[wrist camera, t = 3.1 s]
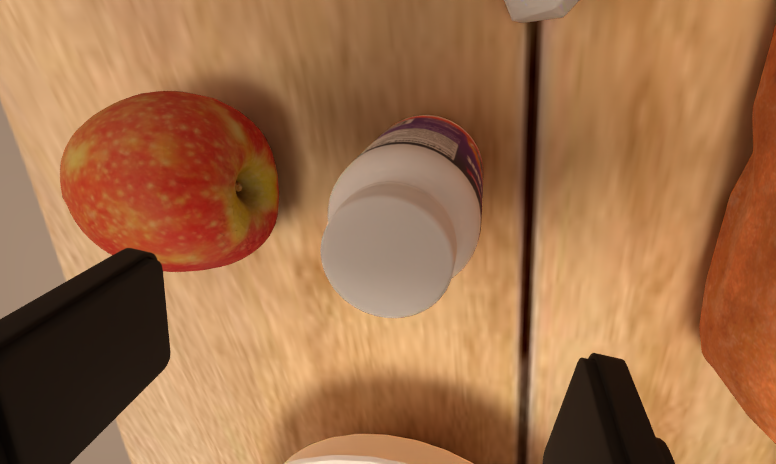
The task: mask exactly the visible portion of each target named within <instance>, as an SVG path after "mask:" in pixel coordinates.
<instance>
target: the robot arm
mask: <svg viewBox="0 0 776 464" xmlns="http://www.w3.org/2000/svg"><path fill="white" fill-rule="evenodd" d="M169 359H170V343H169V333H168V322H167V311H166V300H165V290H164V279H163V268H162V264H161V263H160V262H159V261H158V260H157V257H156V256H155V254H153V253H151V252H146V251H142V250H138V249H133V248H125V249H123V250H121V251H119V252H118V253H116V254H114V255H112V256H111V257H109V258H107V259H105V260H104V261H102V262H100V263H98V264H97V265H95V266H93V267H91V268H90V269H88V270H86V271H84V272H82V273H81V274H79V275H77V276H75V277H74V278H72V279H70V280H68V281H67V282H65V283H63V284H61V285H60V286H58V287H56V288H54V289H53V290H51V291H49V292H47V293H46V294H44V295H42V296H40V297H39V298H37V299H35V300H33V301H32V302H30V303H28V304H26V305H25V306H23V307H21V308H20V309H18V310H16V311H14V312H12V313H11V314H9V315H7V316H5V317H4V318H2V319H0V464H70V463H71V462H72V461H73V460H74V459H75V458H76V457H77V456H78V455H79V454H80V453H81V452H82V451H83V450H84V449H85V448H86V447H87V446H88V445H89V444H90V443H91V442H92V441H93V440H94V439H95V438H96V437H97V436H98V435H99V434H100V433H101V432H102V431H103V430H104V429H105V428H106V427H107V426H108V425H109V424H110V423H111V422H112V421H113V420H114V419H115V418H116V417H117V416H118V415H119V414H120V413H121V412H122V411H123V410H124V409H125V408H126V407H127V406H128V405H129V404H130V403H131V402H132V401H133V400H134V399H135V398H136V397H137V396H138V395H139V394H140V393H141V392H142V391H143V390H144V389H145V388H146V387H147V386H148V385H149V384H150V383H151V382H152V381H153V380H154V379H155V378H156V377H157V376H158V375H159V374H160V373H161V372H162V371H163V370H164V369H165V367H166V366H167V364H168V362H169ZM543 464H675V462H674V460H673V457H672V455H671V453H670V450H669V449H668V447H667V445H666V443H665V442H664V441H663V440H661V439H660V438H656V437H655V434H654V432H653V429H652V427H651V424H650V422H649V419H648V417H647V414H646V412H645V409H644V407H643V405H642V402H641V400H640V397H639V395H638V392H637V390H636V387H635V385H634V382H633V380H632V377H631V375H630V372H629V370H628V367H627V365H626V363H625V361H624V360H622V359H618V358H614V357H610V356H605V355H601V354H596V353H592V354H591V355H590V356H589V358H588V359H586V358H580V359H579V361H578V363H577V366H576V368H575V371H574V374H573V376H572V379H571V382H570V384H569V387H568V390H567V392H566V395H565V398H564V400H563V403H562V406H561V408H560V411H559V414H558V416H557V419H556V422H555V424H554V427H553V430H552V433H551V435H550V438H549V441H548V443H547V446H546V449H545V452H544V456H543Z"/></svg>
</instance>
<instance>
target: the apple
mask: <svg viewBox="0 0 776 464" xmlns="http://www.w3.org/2000/svg"><path fill="white" fill-rule="evenodd" d="M60 183H61V190H62V196H63V199H64V201H65V202H66V204H67V206H68V208H69V211H70V213H71V215H72V216H73V218H74V220H75V222H76V223H77V224H78V226H79V227H80V229H81V230H82V231H83V232H84V233H85V234H86V235H87V236H88V238H89V239H90V240H92V241H93V242H94V243H95V244H96V245H98V246H99V247H100V248H102V249H103V250H105V251H106V252H108V253H110V254H111V255H114V254H116V253H118V252H119V251H121V250H123V249H125V248H133V249H138V250H142V251H146V252H151V253H153V254H155V256H156V257H157V260H158V261H159V262H160V263H161V264H162V268H163V271H167V272H186V271H199V270H206V269H211V268H216V267H222V266H225V265H229V264H232V263H234V262H237V261H239V260H241V259H243V258H245V257H246V256H248V255H250V254H251V253H253V252H254V251H255V250H257V249H258V248H259V247H260V246H261V245H262V244H263V243H264V242H265V241H266V240H267V238H268V237H269V236H270V234H271V232H272V230H273V228H274V226H275V223H276V219H277V215H278V205H279V188H278V174H277V170H276V166H275V160H274V157H273V154H272V151H271V149H270V146H269V144H268V143H267V140H266V138H265V137H264V135H263V133H262V132H261V131H260V129H259V128H257V127H256V125H255V124H254V123H253V122H252V121H251V120H250V119H248V118H247V117H246V116H245V115H243V114H242V113H241V112H240V111H238V110H236V109H234V108H233V107H231V106H229V105H227V104H225V103H222V102H220V101H218V100H216V99H214V98H210V97H206V96H201V95H196V94H191V93H186V92H179V91H158V92H150V93H142V94H138V95H135V96H132V97H129V98H126V99H124V100H121V101H119V102H116V103H114V104H112V105H110V106H109V107H107V108H105V109H103V110H101V111H100V112H98V113H97V114H95V115H94V116H92V117H91V118H90V119H89V120H87V121H86V122H85V123H84V124H83V125H82V126H81V127H80V128H79V129H78V130H77V131H76V132H75V133H74V135H73V136H72V137H71V139H70V140H69V142H68V144H67V146H66V148H65V150H64V153H63V157H62V160H61V168H60Z"/></svg>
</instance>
